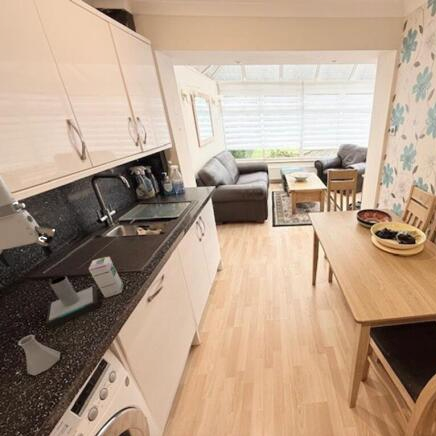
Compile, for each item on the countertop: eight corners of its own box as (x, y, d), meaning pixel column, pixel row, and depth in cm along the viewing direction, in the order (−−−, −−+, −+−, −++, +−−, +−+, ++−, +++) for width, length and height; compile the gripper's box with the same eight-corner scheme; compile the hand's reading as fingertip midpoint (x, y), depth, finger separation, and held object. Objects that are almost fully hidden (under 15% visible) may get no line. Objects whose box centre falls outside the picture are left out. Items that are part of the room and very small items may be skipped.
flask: (24, 367, 68) (4, 343, 64) (57, 347, 73) (40, 324, 69) (31, 381, 64) (9, 357, 60) (64, 358, 70) (47, 335, 65)
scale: (49, 328, 80) (44, 322, 79) (52, 308, 89) (48, 302, 87) (99, 306, 88) (96, 300, 87) (97, 290, 96) (94, 284, 95)
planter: (63, 301, 87) (49, 279, 83) (79, 295, 90) (66, 273, 85) (63, 308, 84) (48, 286, 80) (79, 302, 87) (66, 279, 82)
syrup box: (122, 292, 94) (107, 262, 88) (104, 298, 92) (87, 268, 86) (123, 284, 99) (109, 255, 93) (106, 289, 96) (91, 260, 90)
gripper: (44, 200, 75) (69, 246, 82) (-34, 213, 68) (0, 262, 75) (34, 208, 69) (62, 257, 76) (-53, 222, 62) (-14, 275, 69)
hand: (31, 259), depth 76 cm, fingers open, 9 cm apart
